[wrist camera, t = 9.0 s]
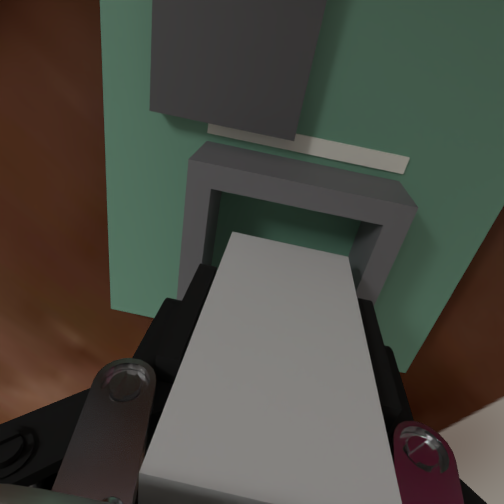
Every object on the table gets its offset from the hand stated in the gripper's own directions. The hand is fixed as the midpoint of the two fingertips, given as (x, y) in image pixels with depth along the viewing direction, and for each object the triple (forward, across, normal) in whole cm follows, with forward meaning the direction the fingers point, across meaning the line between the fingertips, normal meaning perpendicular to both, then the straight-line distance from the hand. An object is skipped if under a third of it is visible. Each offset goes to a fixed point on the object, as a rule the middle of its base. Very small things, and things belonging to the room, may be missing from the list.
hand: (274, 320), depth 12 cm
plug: (+2, 0, 0) cm, 2 cm away
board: (+5, 0, -3) cm, 6 cm away
